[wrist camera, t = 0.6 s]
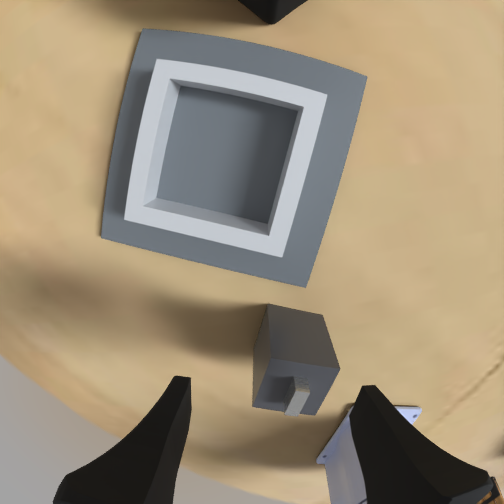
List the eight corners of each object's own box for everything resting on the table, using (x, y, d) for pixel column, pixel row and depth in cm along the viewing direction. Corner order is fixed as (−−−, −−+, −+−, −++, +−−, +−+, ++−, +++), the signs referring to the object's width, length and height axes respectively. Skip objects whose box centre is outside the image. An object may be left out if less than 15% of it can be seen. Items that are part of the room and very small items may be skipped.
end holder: (304, 284, 21) (311, 306, 19) (104, 235, 20) (83, 250, 18) (364, 78, 17) (382, 69, 14) (145, 30, 16) (128, 16, 13)
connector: (304, 358, 24) (317, 429, 17) (253, 348, 23) (251, 421, 17) (322, 314, 22) (344, 383, 15) (267, 303, 22) (271, 372, 15)
